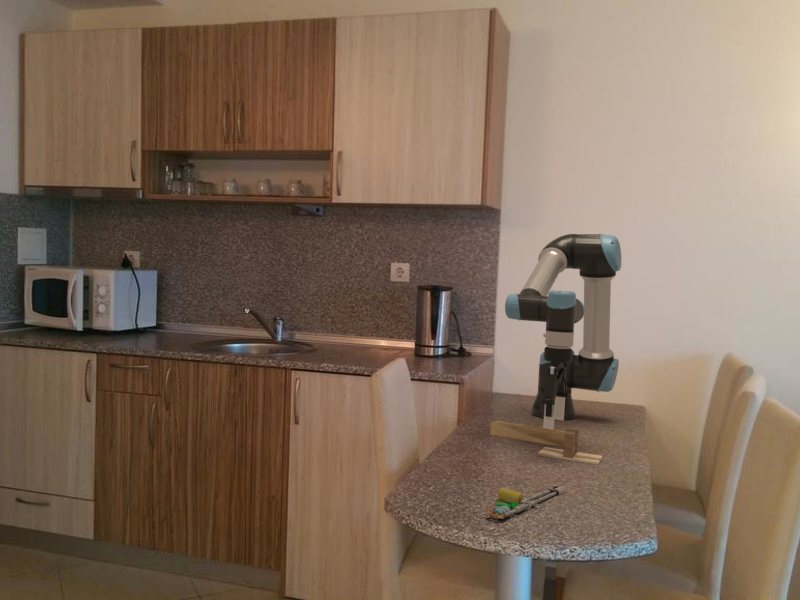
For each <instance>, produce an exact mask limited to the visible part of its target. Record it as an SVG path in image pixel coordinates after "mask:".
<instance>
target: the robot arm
mask: <svg viewBox="0 0 800 600" xmlns="http://www.w3.org/2000/svg"><path fill="white" fill-rule="evenodd" d="M537 261H538V262H537V264H536V265H535V267H534V269H533V270H532V272H531V274H530V276H529V277H528V278H527V281H526V282H525V284H524V286H523V287H522V289H521V291H520V292H519V293H511V294H509V295H507V297H506V299H505V304H504V311H505V316H506V317H507V318H508V319H511V320H517V321H526V322H528V321H529V322H542V323H545V333H543V334H542V335H543V338H545V339H544V343H545V345H546V346H545V347H544V350H543V352H541V354H540V356H539V357H540V358H539V363H538V381H537V383H538V384H537V393H536V396H535V398H534V400H533V403H532V406H531V415H533V416H535V417H537V418H538V417H539V418H543V424H542V425H543V426H542V428H546V429H552V430H555V420H558V421H563V422H564V420H573V419H576V409H575V405H574V402H573V397H572V390H573V389H575V390H576V389H577V390H578V389H579V390H584V391H593V392H597V393H599V392H606V393H609V392H611V391H612V390H613V389H614V387H615V384H616V379H617V376H618V370H619V365H620V364H619V362H620V361H619V359H618V358H615V357H614V355H615V354H614V351H613V350H612V349H611V348H610V337H611V336H610V328H611V292H612V289H611V288H612V287H611V285H612V280H613V279H614V278H615V277H616V275H617V272H619V271H621V269H622V249H621V244H620V241H619V239H618V238H617V236H616V235H612V234H611V235H610V234H604V233H601V234H600V233H599V234H596V233H595V234H594V233H592V234H591V233H585V234H584V233H583V234H582V233H579V234H577V233H569V234H568V233H567V234H564V235H561V236H559V237H556V238H554V239H553V240H551V241H550V242H549V243H547V244H545V246H544V247H543V248H542V250H541V251H540V253H539V254H538V258H537ZM566 269H569V270H570V269H572V270H579V277H580V278H582V280H583V302H582V301H581V300H580V299H579V298H577V297H576V295H577V294H576V292H574V291H572V290H571V291H570V290H552V287H553V285H554V283H555V282H556V281H557V278H558V276H559V274H561V273H562V272H564V271H565V270H566ZM582 319H583V329H582V330H583V333H582V334H583V337H582V339H583V341H582V345H583V346H582V348H581V349H579V351H578V354H576V353H575V351H574V350H573V349H572V348H573V346H574V340H575V339H574V336H575V333H574V330H575V324H577V323H579V322H580V321H581V320H582Z"/></svg>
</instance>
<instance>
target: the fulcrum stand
mask: <svg viewBox="0 0 800 600" xmlns="http://www.w3.org/2000/svg"><path fill="white" fill-rule="evenodd" d="M579 433H580V428H575V427H569V428H568V429H567V430H566V431H565V436H564V447H563V449H562V448H561V449H559V448H555V447H549V446H543V448H541V450H539V451H538V452H537V456H539V457H540V456H541V457H548V458H552V459H553V458H554V459H558V460H559V459H560V460H566V461H573V462H580V463H586V464H592V465H598V466H599V464H600V463H601V461H602V459H603V458H604V455H602V454H601V455H600V454H593V453H586V452H581V451H580V452H579V451H578V448H579V447H578V446H579Z"/></svg>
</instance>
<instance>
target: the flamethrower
mask: <svg viewBox="0 0 800 600" xmlns="http://www.w3.org/2000/svg"><path fill="white" fill-rule="evenodd" d="M565 493H566V488H565V487H564V486H562V485H560V486H558V485H556V486H553V487H551V488H546V490H544V491H541V492H539V493H537V494H534V495H533V496H530V497H527V498H524V495H523V494H522V493H520V492H518V491H514V490H511V489H507V488H506V487H500V489H499V490H498V492H497V499H498V500H497V501H498V502H495V503H496V504H495V506H496V507H497V508H492V509H487V510H486V514H487V515H488V516H489V518H490V517H493V518H494V519H496V520H498V519H500V520H504V519H505V518H507V517H510V516H513V517H518V515H517V514H518V513H521V512H523V511H529V510H530V509H532V508H533V507H536V508H537V510H535V511H534V512H533V514H536V513H537V512H539V510H542V509H543V506H542V504H541V503H540V502H543V501H544V500H547V499H549V498H551V497H553V496H557V495H558V496H561V495H563V494H565ZM538 503H540V504H538ZM539 507H540V508H539ZM515 513H516V514H515Z"/></svg>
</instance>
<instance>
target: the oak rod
mask: <svg viewBox="0 0 800 600" xmlns="http://www.w3.org/2000/svg"><path fill="white" fill-rule="evenodd" d="M489 431H490V434H489V435H490V436H496V437H500V438H507V439H512V440H513V439H514V440H519V441H524V442H532V443H537V444H543V445H550V446H555V447H561V448H564V436H565V432H566V431H564V430H557V429H547V428H543V427H537V426H531V425H526V424H520V423H512V422H506V421H500V420H494V421H492V422H490V430H489Z"/></svg>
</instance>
